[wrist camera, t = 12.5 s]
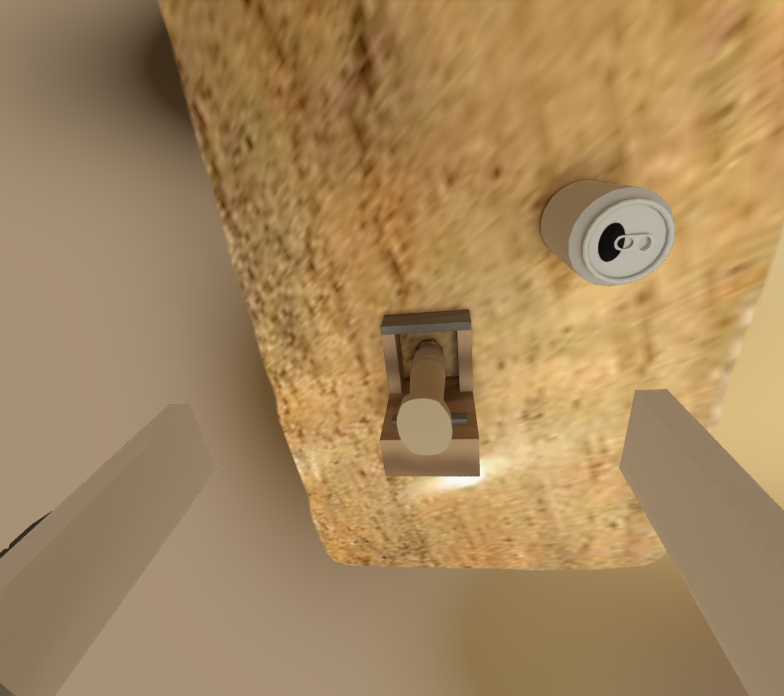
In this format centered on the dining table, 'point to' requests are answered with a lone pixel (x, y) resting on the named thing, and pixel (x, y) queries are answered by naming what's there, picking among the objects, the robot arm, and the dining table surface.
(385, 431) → the wooden stand
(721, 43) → the dining table surface
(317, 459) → the dining table surface
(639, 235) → the can
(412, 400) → the handle
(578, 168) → the dining table surface
